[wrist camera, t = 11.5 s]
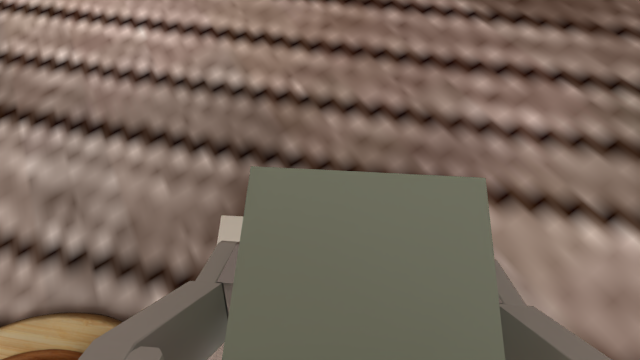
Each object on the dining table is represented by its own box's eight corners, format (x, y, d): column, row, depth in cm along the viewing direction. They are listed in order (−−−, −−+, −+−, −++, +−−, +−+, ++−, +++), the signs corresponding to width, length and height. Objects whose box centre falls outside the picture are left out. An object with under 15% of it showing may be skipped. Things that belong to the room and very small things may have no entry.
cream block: (275, 225, 30) (266, 217, 26) (270, 267, 29) (261, 265, 25) (235, 223, 30) (221, 215, 26) (229, 264, 29) (213, 262, 25)
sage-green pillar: (395, 237, 14) (485, 177, 6) (397, 348, 12) (518, 478, 4) (298, 231, 14) (250, 166, 6) (288, 339, 13) (209, 443, 5)
